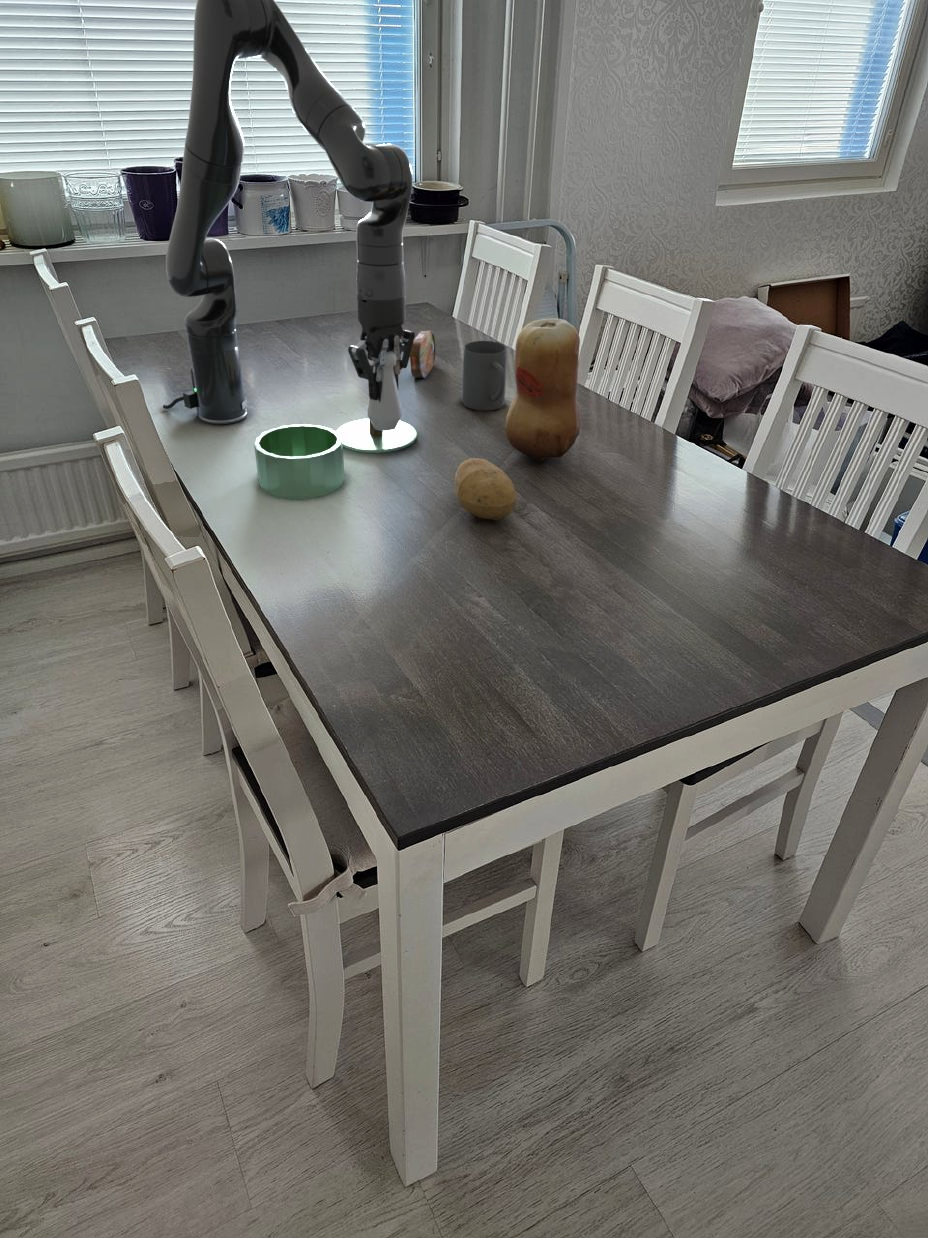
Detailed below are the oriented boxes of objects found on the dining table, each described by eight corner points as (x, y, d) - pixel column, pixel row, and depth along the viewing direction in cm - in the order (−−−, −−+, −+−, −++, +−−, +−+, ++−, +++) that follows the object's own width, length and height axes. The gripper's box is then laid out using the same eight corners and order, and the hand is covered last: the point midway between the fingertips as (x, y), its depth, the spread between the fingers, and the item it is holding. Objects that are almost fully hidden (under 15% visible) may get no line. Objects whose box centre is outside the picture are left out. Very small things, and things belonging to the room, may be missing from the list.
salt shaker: (368, 419, 148) (365, 344, 140) (401, 419, 148) (400, 344, 141) (368, 433, 143) (365, 355, 135) (402, 433, 143) (401, 355, 136)
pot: (243, 491, 146) (237, 450, 142) (285, 458, 158) (281, 419, 153) (321, 505, 142) (317, 464, 138) (357, 470, 154) (355, 431, 150)
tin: (421, 382, 192) (421, 345, 188) (408, 381, 193) (407, 344, 188) (436, 362, 205) (436, 326, 200) (423, 361, 205) (423, 325, 200)
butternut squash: (489, 456, 160) (494, 320, 146) (534, 436, 168) (543, 305, 154) (547, 479, 152) (559, 337, 138) (591, 457, 161) (607, 322, 146)
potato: (473, 538, 134) (474, 492, 130) (442, 500, 145) (443, 456, 140) (529, 528, 137) (533, 483, 133) (495, 491, 148) (497, 448, 143)
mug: (455, 398, 185) (456, 342, 178) (493, 393, 188) (495, 338, 181) (481, 421, 174) (483, 362, 167) (521, 415, 177) (524, 357, 171)
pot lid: (322, 448, 162) (319, 414, 158) (356, 419, 174) (354, 387, 170) (398, 460, 158) (397, 426, 154) (428, 430, 170) (428, 397, 166)
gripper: (393, 279, 139) (395, 382, 149) (331, 295, 130) (337, 404, 140) (428, 287, 135) (428, 393, 145) (367, 304, 126) (371, 416, 136)
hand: (383, 398), depth 143 cm, fingers closed on salt shaker, 3 cm apart
